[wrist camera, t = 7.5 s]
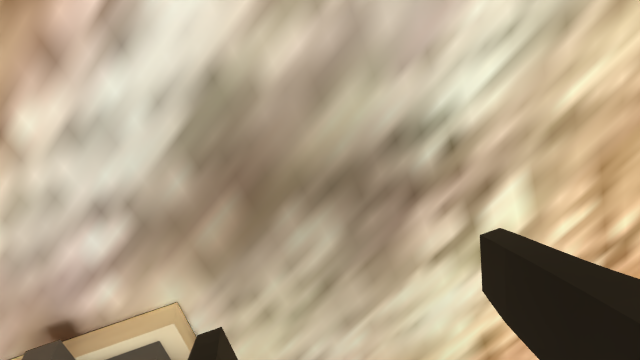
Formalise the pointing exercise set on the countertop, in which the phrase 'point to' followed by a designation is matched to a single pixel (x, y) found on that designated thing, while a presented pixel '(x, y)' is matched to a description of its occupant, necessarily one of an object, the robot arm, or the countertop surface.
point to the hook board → (136, 336)
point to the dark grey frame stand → (153, 356)
